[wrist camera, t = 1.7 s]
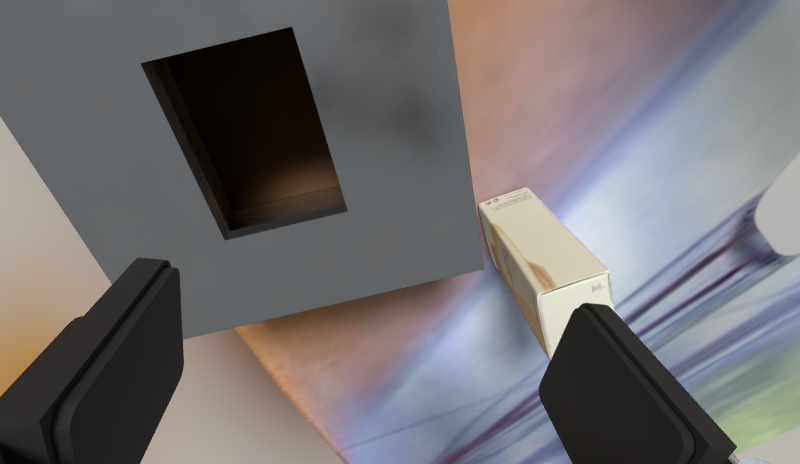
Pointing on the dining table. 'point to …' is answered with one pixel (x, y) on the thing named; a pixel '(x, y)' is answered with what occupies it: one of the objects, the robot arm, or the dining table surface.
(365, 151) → the box
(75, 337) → the robot arm
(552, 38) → the dining table surface
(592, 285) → the skincare box
